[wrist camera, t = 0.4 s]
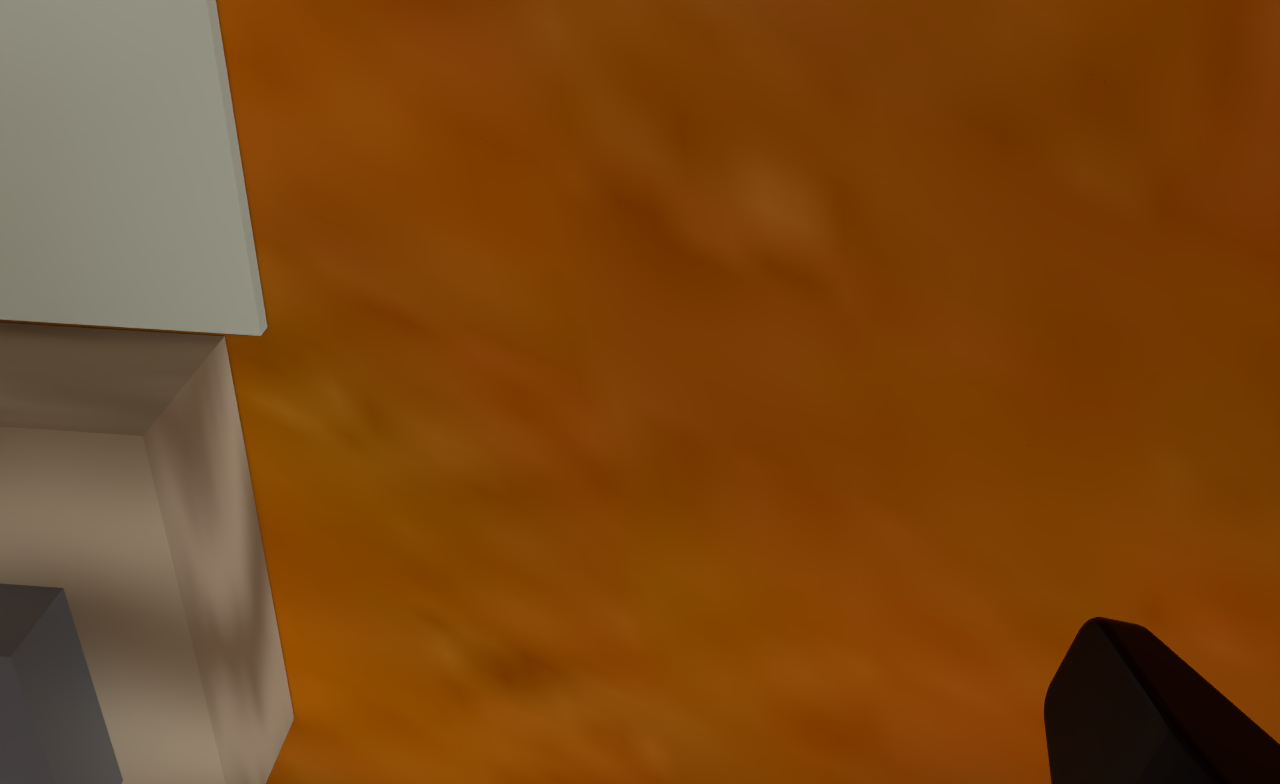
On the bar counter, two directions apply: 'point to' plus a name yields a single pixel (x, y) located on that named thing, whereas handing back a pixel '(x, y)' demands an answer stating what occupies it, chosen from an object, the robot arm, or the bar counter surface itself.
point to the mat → (122, 169)
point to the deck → (146, 542)
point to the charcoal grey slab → (48, 695)
